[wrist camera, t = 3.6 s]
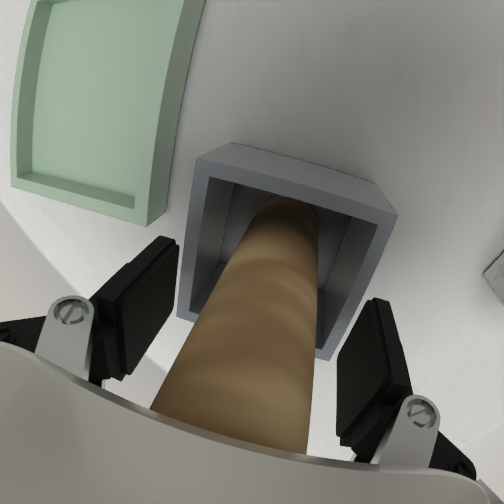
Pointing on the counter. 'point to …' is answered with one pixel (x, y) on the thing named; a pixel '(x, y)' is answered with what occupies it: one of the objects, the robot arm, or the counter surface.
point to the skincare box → (496, 277)
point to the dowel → (255, 337)
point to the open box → (297, 187)
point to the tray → (101, 102)
